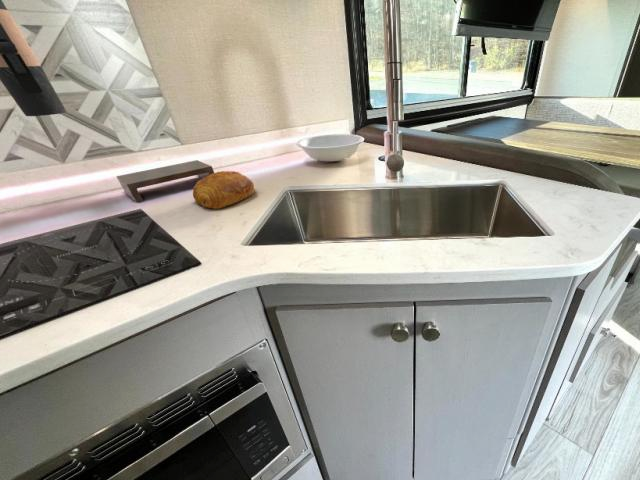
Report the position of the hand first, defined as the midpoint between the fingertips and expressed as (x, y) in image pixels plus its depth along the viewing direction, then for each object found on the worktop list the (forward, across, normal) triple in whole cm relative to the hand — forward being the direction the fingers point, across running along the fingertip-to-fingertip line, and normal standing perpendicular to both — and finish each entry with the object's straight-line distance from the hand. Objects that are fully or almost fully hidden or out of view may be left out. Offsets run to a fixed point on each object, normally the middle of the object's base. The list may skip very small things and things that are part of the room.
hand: (33, 92), depth 69 cm
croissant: (+26, -22, -24) cm, 42 cm away
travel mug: (+4, 0, 0) cm, 4 cm away
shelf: (+26, +1, -17) cm, 31 cm away
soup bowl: (+26, -11, -68) cm, 74 cm away
